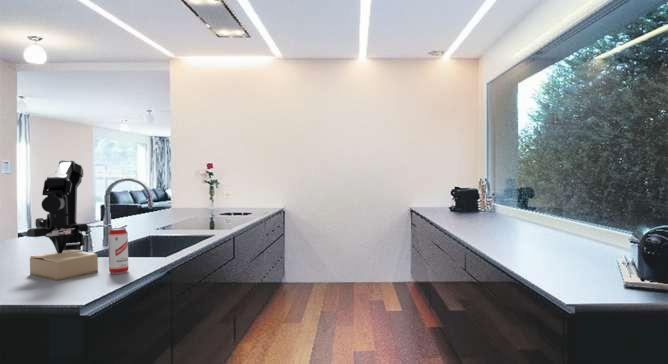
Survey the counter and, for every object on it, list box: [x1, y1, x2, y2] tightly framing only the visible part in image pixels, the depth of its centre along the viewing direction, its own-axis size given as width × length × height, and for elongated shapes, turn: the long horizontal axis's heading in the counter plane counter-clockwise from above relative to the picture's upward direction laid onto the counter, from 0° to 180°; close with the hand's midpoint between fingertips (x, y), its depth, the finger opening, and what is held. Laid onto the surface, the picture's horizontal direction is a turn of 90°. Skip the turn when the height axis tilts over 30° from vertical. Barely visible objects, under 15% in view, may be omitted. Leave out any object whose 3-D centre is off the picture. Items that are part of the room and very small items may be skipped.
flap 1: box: [29, 249, 84, 258], centre depth 159 cm, size 14×9×1 cm, turn 150°
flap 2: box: [44, 251, 98, 263], centre depth 155 cm, size 14×9×1 cm, turn 150°
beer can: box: [107, 227, 129, 275], centre depth 157 cm, size 6×6×16 cm
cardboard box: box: [29, 255, 99, 281], centre depth 157 cm, size 14×18×6 cm
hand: (59, 253), depth 158 cm, fingers closed, pressing on flap 1
